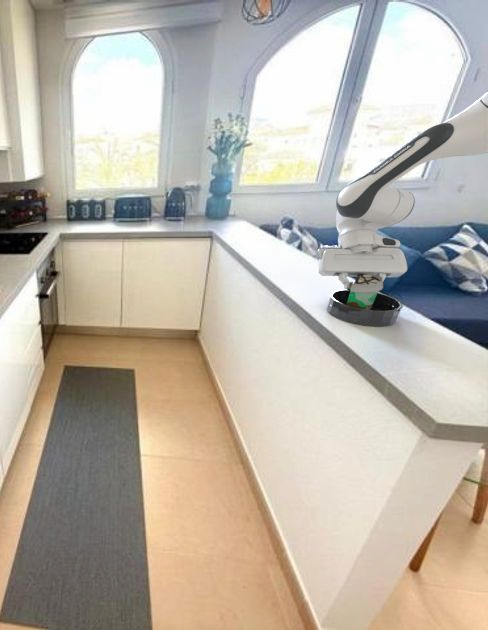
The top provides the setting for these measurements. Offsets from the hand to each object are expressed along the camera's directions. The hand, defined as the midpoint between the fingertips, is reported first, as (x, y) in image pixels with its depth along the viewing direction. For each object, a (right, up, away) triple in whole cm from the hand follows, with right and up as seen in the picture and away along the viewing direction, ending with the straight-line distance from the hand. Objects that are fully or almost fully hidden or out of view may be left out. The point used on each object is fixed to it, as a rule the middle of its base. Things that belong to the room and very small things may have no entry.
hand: (363, 289), depth 97 cm
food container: (0, -7, +1) cm, 7 cm away
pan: (0, -7, +1) cm, 7 cm away
